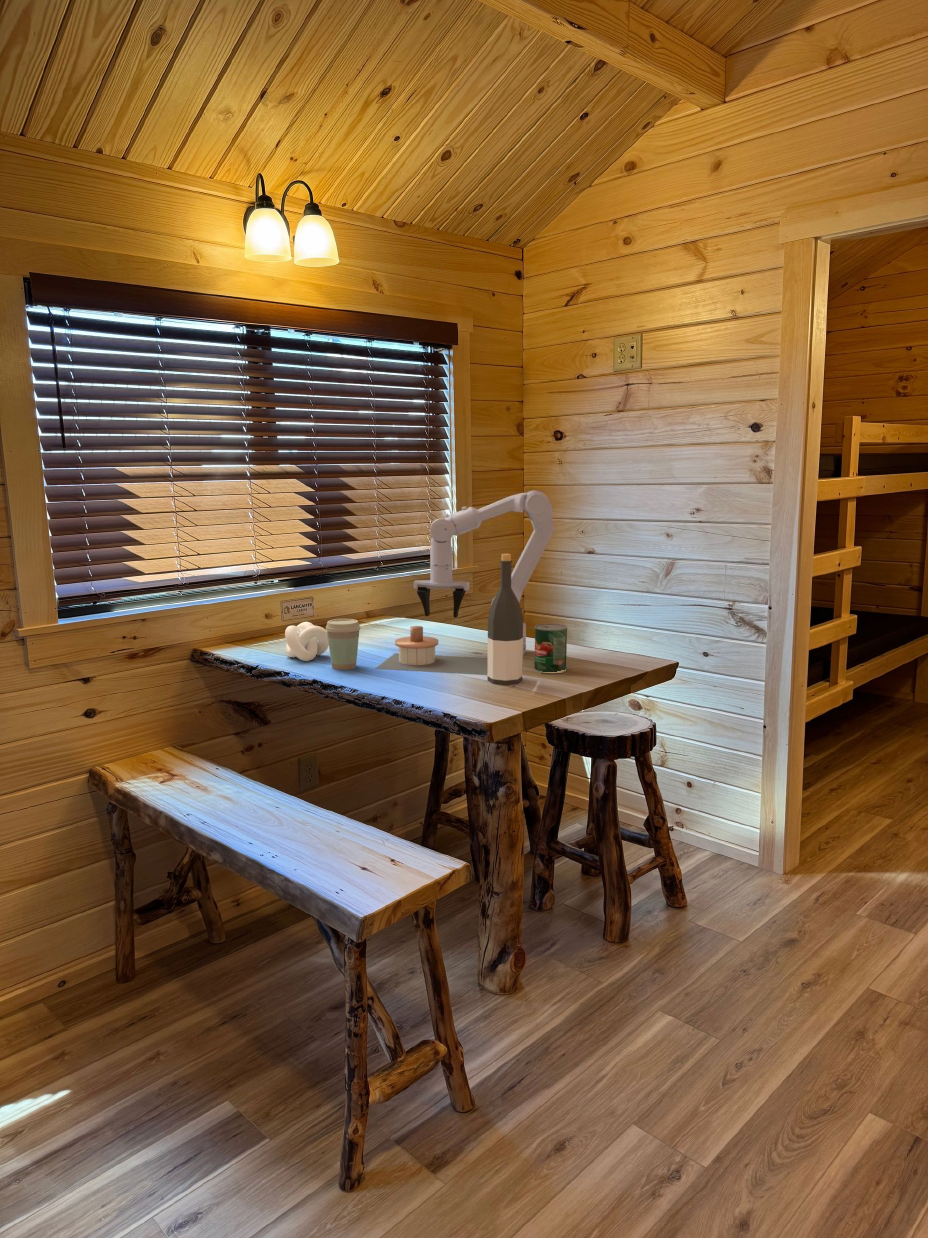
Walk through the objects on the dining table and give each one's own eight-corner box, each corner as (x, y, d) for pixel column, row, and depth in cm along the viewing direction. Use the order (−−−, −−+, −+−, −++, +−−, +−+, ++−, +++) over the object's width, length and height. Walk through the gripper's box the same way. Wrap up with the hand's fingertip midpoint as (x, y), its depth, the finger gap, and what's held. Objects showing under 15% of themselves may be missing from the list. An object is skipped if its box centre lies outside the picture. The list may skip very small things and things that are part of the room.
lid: (447, 642, 214) (447, 626, 213) (419, 650, 205) (419, 633, 205) (414, 637, 221) (414, 621, 220) (386, 644, 212) (385, 628, 211)
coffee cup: (366, 666, 211) (365, 619, 209) (353, 674, 203) (352, 625, 200) (335, 663, 213) (334, 617, 211) (320, 671, 205) (319, 623, 203)
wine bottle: (480, 682, 196) (480, 554, 190) (503, 676, 201) (505, 551, 195) (505, 689, 190) (507, 557, 184) (529, 682, 195) (531, 554, 190)
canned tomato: (571, 668, 208) (572, 625, 206) (558, 675, 202) (559, 630, 200) (542, 664, 212) (543, 622, 210) (528, 671, 206) (529, 627, 204)
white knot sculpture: (313, 665, 211) (312, 630, 210) (272, 661, 215) (270, 627, 213) (334, 655, 222) (333, 622, 220) (294, 652, 226) (293, 619, 224)
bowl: (438, 657, 217) (438, 640, 217) (429, 666, 209) (429, 648, 208) (405, 656, 219) (404, 639, 218) (395, 664, 211) (394, 646, 210)
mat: (499, 660, 217) (499, 658, 217) (486, 676, 200) (486, 674, 200) (395, 655, 223) (394, 653, 222) (374, 670, 206) (374, 668, 206)
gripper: (471, 563, 221) (471, 614, 223) (418, 562, 224) (418, 612, 226) (466, 567, 214) (466, 619, 217) (411, 565, 217) (411, 617, 220)
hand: (441, 616), depth 221 cm, fingers open, 7 cm apart
